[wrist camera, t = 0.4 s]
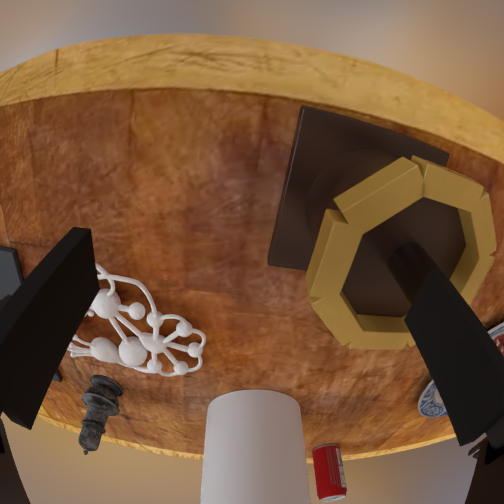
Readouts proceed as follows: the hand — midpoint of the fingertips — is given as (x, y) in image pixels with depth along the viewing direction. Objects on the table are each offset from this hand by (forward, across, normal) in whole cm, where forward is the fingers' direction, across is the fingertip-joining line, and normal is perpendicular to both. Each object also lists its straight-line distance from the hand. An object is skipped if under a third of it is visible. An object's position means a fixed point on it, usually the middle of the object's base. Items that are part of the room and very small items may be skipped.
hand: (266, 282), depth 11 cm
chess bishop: (+14, -17, -32) cm, 39 cm away
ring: (+4, +9, -1) cm, 10 cm away
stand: (+14, +9, -1) cm, 16 cm away
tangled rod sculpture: (+14, -13, -16) cm, 25 cm away
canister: (+14, +5, -34) cm, 37 cm away
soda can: (+14, +21, -49) cm, 55 cm away
